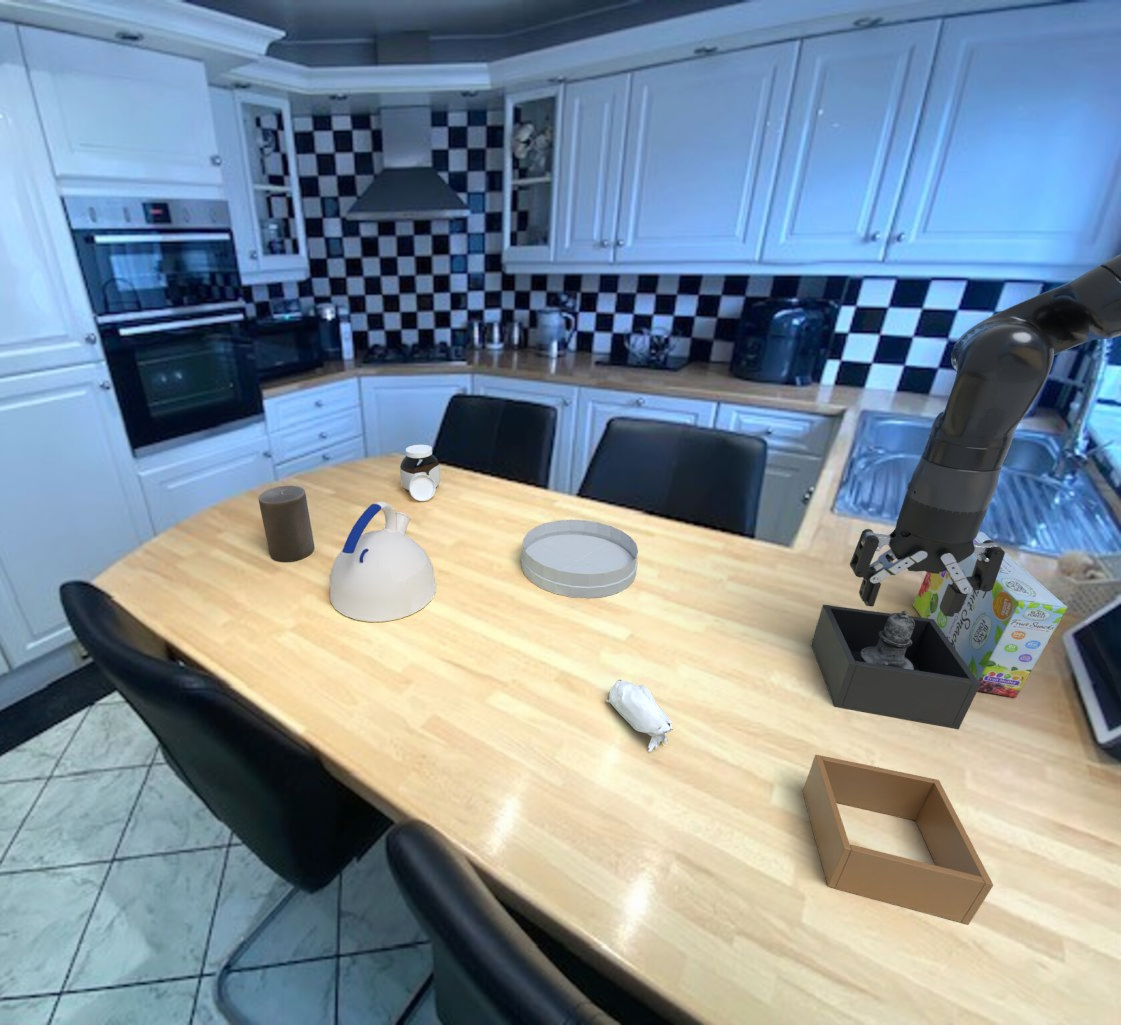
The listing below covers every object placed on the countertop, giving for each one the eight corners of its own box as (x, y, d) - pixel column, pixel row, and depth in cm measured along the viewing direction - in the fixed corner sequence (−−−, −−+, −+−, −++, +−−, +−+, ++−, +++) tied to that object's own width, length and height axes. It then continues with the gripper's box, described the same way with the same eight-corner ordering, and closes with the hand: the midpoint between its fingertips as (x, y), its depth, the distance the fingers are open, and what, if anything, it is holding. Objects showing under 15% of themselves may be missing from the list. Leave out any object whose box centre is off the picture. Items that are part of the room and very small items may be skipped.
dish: (498, 567, 112) (498, 545, 110) (565, 530, 125) (566, 509, 123) (592, 613, 97) (594, 589, 94) (658, 565, 110) (661, 543, 107)
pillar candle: (292, 566, 116) (280, 501, 110) (260, 555, 121) (246, 492, 114) (324, 546, 123) (314, 483, 117) (292, 536, 128) (281, 476, 122)
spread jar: (426, 481, 155) (424, 440, 149) (454, 492, 147) (452, 450, 142) (391, 493, 148) (388, 452, 143) (418, 506, 140) (415, 462, 135)
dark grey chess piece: (872, 661, 82) (897, 593, 77) (915, 687, 77) (945, 616, 72) (843, 672, 80) (867, 603, 75) (886, 700, 75) (915, 628, 70)
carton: (920, 817, 61) (939, 779, 58) (969, 924, 51) (993, 885, 49) (802, 790, 64) (815, 753, 62) (827, 886, 55) (844, 847, 52)
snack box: (1022, 700, 75) (1072, 607, 68) (970, 691, 77) (1014, 600, 70) (950, 610, 93) (984, 529, 86) (909, 604, 95) (940, 525, 88)
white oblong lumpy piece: (678, 743, 73) (628, 682, 80) (687, 719, 68) (634, 656, 75) (647, 761, 72) (599, 697, 79) (654, 737, 67) (603, 672, 74)
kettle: (454, 573, 111) (450, 489, 103) (405, 634, 94) (397, 540, 86) (366, 555, 119) (357, 476, 111) (307, 609, 102) (291, 520, 94)
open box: (916, 660, 83) (933, 619, 79) (959, 729, 71) (980, 684, 68) (810, 644, 87) (822, 604, 84) (834, 706, 76) (849, 663, 72)
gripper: (886, 503, 66) (850, 616, 73) (1042, 515, 61) (988, 634, 68) (866, 479, 72) (835, 585, 79) (1006, 488, 68) (960, 600, 75)
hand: (905, 607), depth 74 cm, fingers open, 8 cm apart
